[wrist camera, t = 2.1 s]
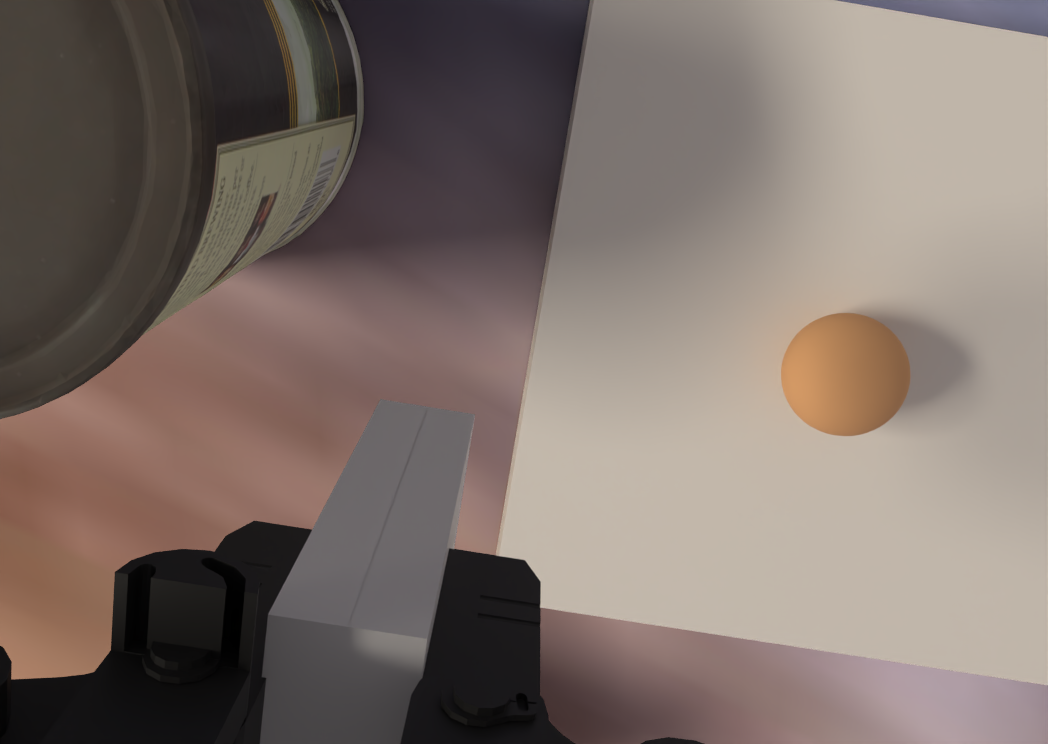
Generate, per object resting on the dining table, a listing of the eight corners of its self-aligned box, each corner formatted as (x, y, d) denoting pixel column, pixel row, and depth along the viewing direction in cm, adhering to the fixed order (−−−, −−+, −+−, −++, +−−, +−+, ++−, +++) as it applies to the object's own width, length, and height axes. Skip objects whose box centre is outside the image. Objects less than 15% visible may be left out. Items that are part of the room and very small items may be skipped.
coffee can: (14, -142, 27) (-525, -357, 13) (390, -63, 27) (239, -195, 14) (-1, 231, 30) (-453, 365, 16) (338, 297, 30) (172, 482, 17)
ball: (784, 292, 27) (815, 320, 24) (899, 311, 27) (945, 341, 24) (757, 402, 28) (783, 444, 25) (869, 420, 28) (909, 464, 25)
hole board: (594, -29, 27) (601, -40, 24) (1567, 139, 28) (1684, 146, 25) (495, 553, 32) (491, 599, 30) (1317, 680, 33) (1391, 738, 30)
